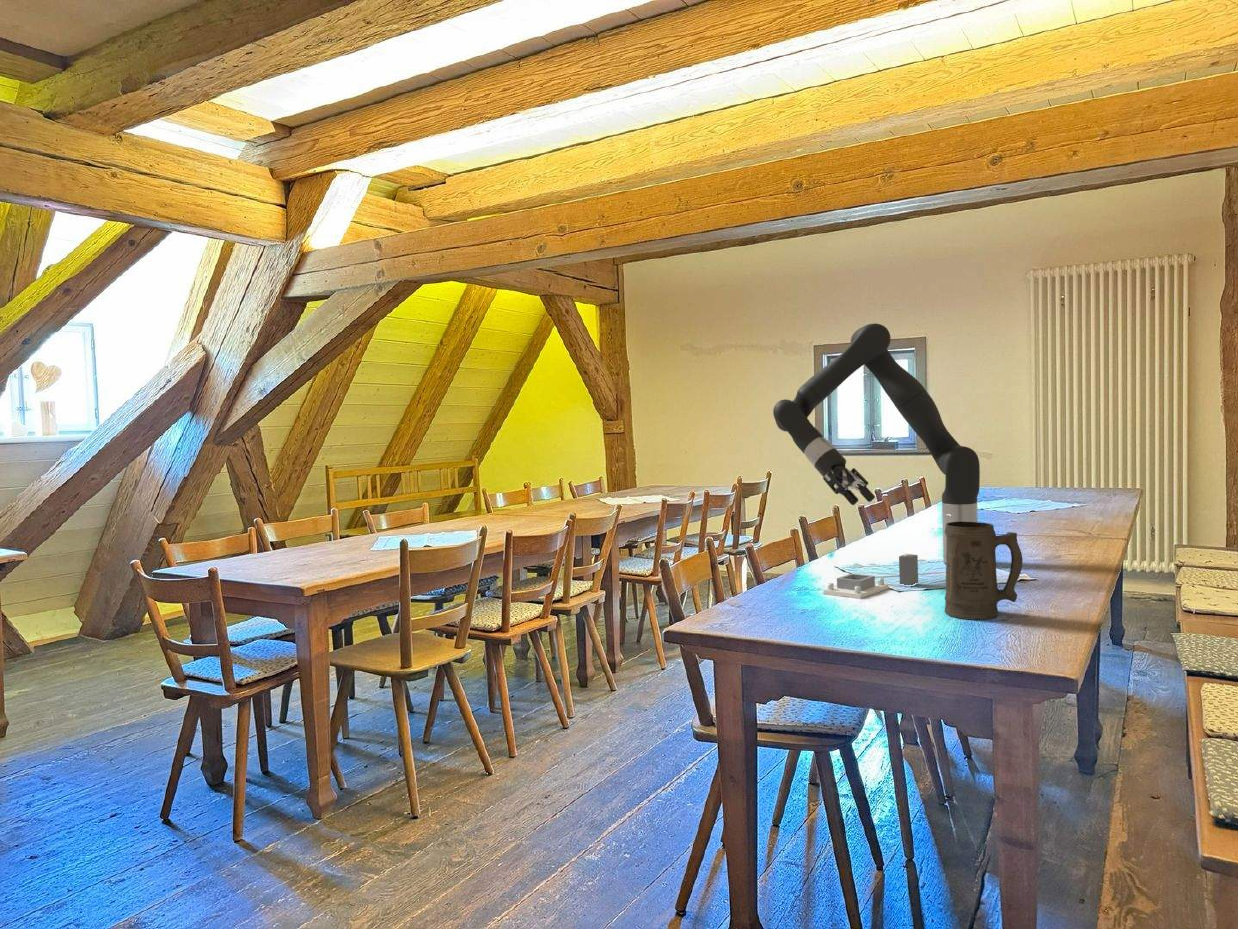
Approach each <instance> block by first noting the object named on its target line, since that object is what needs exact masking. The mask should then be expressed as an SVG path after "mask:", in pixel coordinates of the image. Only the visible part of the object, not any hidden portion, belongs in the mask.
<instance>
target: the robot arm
mask: <svg viewBox="0 0 1238 929" xmlns="http://www.w3.org/2000/svg"><path fill="white" fill-rule="evenodd" d="M890 344H891V333H890V331H889V330H888V328H887V327H886V326H885V325H883V324H880V323H877V322H875V323H869V324H866V325H863V326H862V327H860V328H858V329H857V330H855V331H854V332H853V334H852V335H851V338H850V345H849V346H848V347H847V348H846V349H844V351H843V352H842V353H841V354H839V355H838V356H837V357H836V358H835V359H833V360H831V361H830V362H829V363H827V365H825V366H823V367H822V368H821V369H820V370H818V371H817V372H815V374H813V375H812V376H811V377H810V378H809V379H807V381H805V382H804V383H803V384H802V385H801V386H800V387H799V388H798V390H796V391H797V392H796V394H795V397H794V398H793V399H792V400H790V399H781V400H779V401H777V402H776V403H775V405H774V406H773V409H772V410H773V411H772V412H773V413H772V414H773V418H774V420H775V424H776V426H777V428H778V429H779V430H781V431H782V432H787V433H788V434H789V436H791V438H792V441H793V442H794V444H795V446H796V447H797V448H798V449H799V450H800V451H801V452H802V453H803V455H805V457H806V459H807V460H808V462H809V463H811V465H812V467H814V469H816V471H817V472H818V473H819V474H820V475H821V476H822V480H823V481H824V482H825V483H826V484H827V486H829V488H830V489H831V491H832V492H834V494H835V495H838V494H839V495H840V496H843V497H844V498H845V500H847V502H849V504H850V505H851V506H855V505H856V504H857V503H858V502H859V498H858V497H857V495H856V494H855V493H854V492H852V490H853V489H854V490H856V491H857V492H859V493H860V494H861V496H862V497H863V498H864V499H865V500H866V501H867V502H868V503H871V502H872V501H874V499H875V498H876V496H875V495H874V493H873V492H872V491H871V490H870V489H869V488H868V487H867V486H868V485H869V482H868V480H867V479H866V478H865V477H863V475H862V474H861V473H860V472H859V471H858V470H857V468H854V467H853V468H851V470H850V469H848V468H847V467H846V464H847V459H846V458H845V457H844V456H843V455H842V454H841V453H840V452H839V450H838V449H837V448H836V447H835V446H834V445H833V444H832V443H831V442H830V441H829V440H828V439H827V438H826V437H824V435H823V434H822V433H821V432H820V431H819V430H818V429H817V428H816V427H815V425H813V424H812V422H811V421H810V420H809V419H808V418H809V416H810V415H811V414H812V412H813V411H814V409H815V408H816V407H817V406H819V405H820V404H821V403H822V402H823V401H824V400H826V399H827V398H828V397H830V395H831V394H832V393H833V392H834V391H835V390H836V389H838V387H840V386H841V385H842V384H843V383H844V382H845V381H846V380H847V379H848V378H850V376H852V375H853V374H854V373H855V372H856V371H858V370H859V369H860V368H862V366H865V367H866V368H867V370H869V371H870V373H871V374H872V375H873V377H874V378H876V380H877V382H878V384H879V385H880V386H881V387H882V389H883V391H884V392H885V393H886V395H887V397H889V399H890V401H891V402H892V404H893V405H894V407H895V408H896V410H897V411H898V412H899V413H900V415H901V416H902V418H903V419H904V420H905V421H906V423H907V424H908V425H909V426H910V428H911V429H912V430H913V431H914V433H915V434H916V435H917V436H918V437H919V438H920V439H921V441H922V442H923V443H924V445H925V446H926V448H927V449H928V451H929V453H930V455H931V456H932V459H933V461H934V462H935V463H936V465H937V468H938V469H939V471H940V472H942V474H943V475H945V485H944V490H943V492H942V493H941V516H942V517H941V519H942V556H943V557H942V558H943V563H944V564H945V563H946V541H947V538H946V534H945V528H946V524H947V523H950V522H958V521H959V522H978V516H979V515H978V495H979V493H980V484H981V483H980V480H981V479H980V478H981V477H980V475H981V471H980V470H981V469H980V468H981V467H980V464H981V463H980V459H979V456H978V453H977V452H976V451H975V450H974V449H973V448H971V447H967V446H964V445H961V444H959V442H958V441H957V440H956V439H955V437H953V436H952V434H951V433H950V432H949V430H948V429H947V428H946V426H945V424H944V421H943V419H942V417H941V416H942V415H941V413H940V411H939V408H938V407H937V405H936V403H935V401H934V400H933V398H932V396H931V395H930V394H929V392H928V391H927V389H926V388H925V387H924V386H923V384H922V383H921V382H920V381H919V380H918V379H917V378H916V377H914V375H912V374H911V373H910V372H908V371H907V370H906V369H905V368H903V367H902V366H901V365H900V364H899V363H898V362H897V361H896V360H895V358H894V357H893V356H892V355H891V353H890V351H889V349H888V348H889V347H890ZM851 489H852V490H851Z"/></svg>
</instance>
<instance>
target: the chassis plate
mask: <svg viewBox="0 0 1238 929" xmlns="http://www.w3.org/2000/svg"><path fill="white" fill-rule="evenodd" d="M875 577H876V576H875V575H866V574H859V573H849V574H845V575H843V576H840V577H836V585H834V583H833V582H828V583H827V588H825V589H823V590H822V591H823V595H830V596H835V595H837V596H838V595H839V596H838V597H843V596H846V597H845V598H850V597H851V599H859V600H860V599H863V598H866V597H868V596H871V595H872V596H873V595H874V594H878V593H879V592H880V593H881V592H883V591H885V590H888V589H889V586H890V585H889V584H888V583H885V578H883V577H880V578H877V582H876V578H875ZM837 596H836V597H837Z"/></svg>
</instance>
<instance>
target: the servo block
mask: <svg viewBox="0 0 1238 929" xmlns="http://www.w3.org/2000/svg"><path fill="white" fill-rule="evenodd" d="M918 558H919V557H918V554H910V553H904V554H903V555H899V556H898V567H899V568H898V569H899V571H898V572H899V585H900V584H904V585H913V584H915V583H918V584H919V568H918V567H919V562H918V561H919V559H918Z"/></svg>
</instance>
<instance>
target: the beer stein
mask: <svg viewBox="0 0 1238 929" xmlns="http://www.w3.org/2000/svg"><path fill="white" fill-rule="evenodd" d="M945 534H946V538H947V541H946V564H945V595H944V600H945V602H944V603H945V605H944V613H945V615H948V616H950V617H953V618H957V619H961V620H973V619H980V620H989V619H991V620H992V619H995V618H997V617H998V615H999V610H998V603H999V602H1000V601H1003V600H1008V601H1010V602H1013V603H1015V602H1016V600H1017V598H1018V594H1017V592H1016V591H1015V587H1016V584H1017V581H1018V579H1020V578H1019V577H1020V575H1021V572H1022V570H1023V553H1022V550H1021V548H1020V545H1019V543H1018V533H1017V532H1013V531H1012V532H1011V531H1010V532H1009V531H1008V532H1006V534H1000V535H996V534H997V533H996V530H995V526H994V524H992V523H987V522H959V521H958V522H950V523H947V524H946V528H945ZM1000 545H1001V546H1003V545H1004V546H1007V548H1008V549H1009V550H1010V556H1011V558H1010V560H1011V562H1010V569H1009V575H1008V577H1007V581H1006V584H1005V586H1004V587H1003V589H999V588H998V579H997V578H998V577H997V556H996V549H997V547H998V546H1000Z"/></svg>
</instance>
